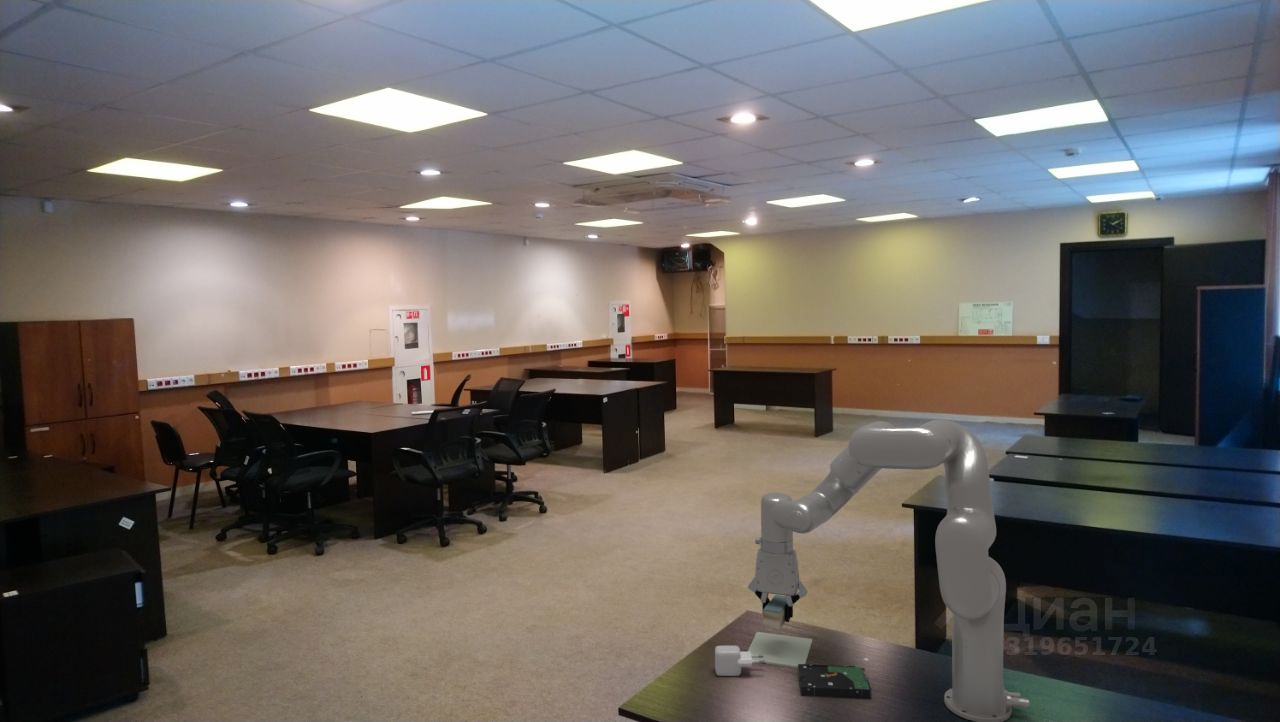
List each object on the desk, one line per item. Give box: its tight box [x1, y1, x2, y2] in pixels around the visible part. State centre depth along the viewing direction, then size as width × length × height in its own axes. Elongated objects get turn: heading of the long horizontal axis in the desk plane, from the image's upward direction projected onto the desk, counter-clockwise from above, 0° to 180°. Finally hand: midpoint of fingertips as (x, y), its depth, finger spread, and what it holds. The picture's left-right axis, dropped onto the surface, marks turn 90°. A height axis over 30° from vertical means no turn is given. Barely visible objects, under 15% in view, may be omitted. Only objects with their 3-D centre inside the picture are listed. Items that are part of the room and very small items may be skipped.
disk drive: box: [797, 663, 872, 700], centre depth 160 cm, size 10×3×15 cm
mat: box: [746, 631, 814, 670], centre depth 177 cm, size 14×15×1 cm
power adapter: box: [714, 645, 765, 677], centre depth 166 cm, size 11×5×6 cm, turn 87°
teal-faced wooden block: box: [762, 594, 787, 630], centre depth 176 cm, size 10×4×4 cm, turn 152°
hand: (777, 617), depth 176 cm, fingers closed on teal-faced wooden block, 4 cm apart
